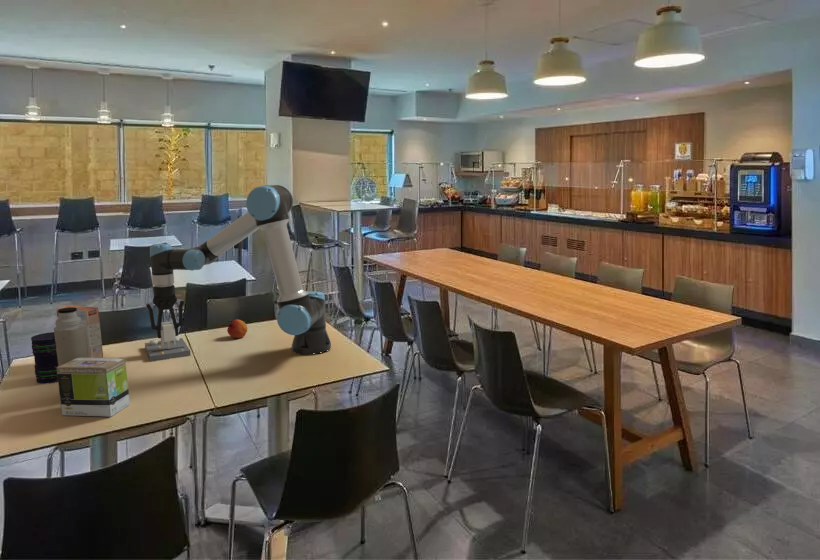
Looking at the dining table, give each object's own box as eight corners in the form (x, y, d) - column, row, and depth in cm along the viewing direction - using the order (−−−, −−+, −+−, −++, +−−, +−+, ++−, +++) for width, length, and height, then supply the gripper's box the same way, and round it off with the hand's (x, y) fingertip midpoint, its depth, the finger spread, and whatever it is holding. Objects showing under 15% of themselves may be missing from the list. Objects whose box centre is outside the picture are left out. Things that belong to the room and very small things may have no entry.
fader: (175, 349, 218) (173, 324, 216) (165, 350, 216) (163, 326, 214) (172, 345, 223) (170, 321, 221) (163, 346, 221) (161, 322, 219)
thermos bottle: (56, 402, 173) (45, 311, 168) (70, 392, 181) (60, 305, 176) (84, 401, 174) (74, 311, 169) (96, 391, 182) (87, 305, 177)
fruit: (227, 336, 245) (226, 317, 243) (247, 334, 247) (246, 316, 246) (227, 341, 237) (226, 322, 236) (248, 339, 240) (247, 320, 238)
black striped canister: (29, 381, 191) (23, 338, 189) (57, 372, 200) (52, 330, 197) (48, 385, 187) (43, 341, 185) (76, 376, 196) (72, 333, 193)
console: (190, 355, 218) (189, 346, 217) (150, 361, 211) (149, 352, 210) (182, 342, 235) (181, 334, 234) (145, 347, 228) (144, 339, 228)
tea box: (131, 404, 171) (126, 356, 169) (110, 418, 161) (105, 367, 159) (83, 402, 173) (78, 355, 170) (60, 416, 163) (54, 366, 160)
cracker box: (105, 362, 211) (99, 306, 207) (91, 367, 205) (84, 310, 201) (76, 358, 215) (70, 304, 211) (61, 363, 210) (55, 307, 206)
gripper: (185, 281, 222) (190, 339, 226) (138, 285, 214) (144, 346, 218) (188, 284, 216) (193, 344, 220) (140, 288, 208) (146, 351, 212)
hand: (168, 345), depth 219 cm, fingers closed on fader, 3 cm apart
